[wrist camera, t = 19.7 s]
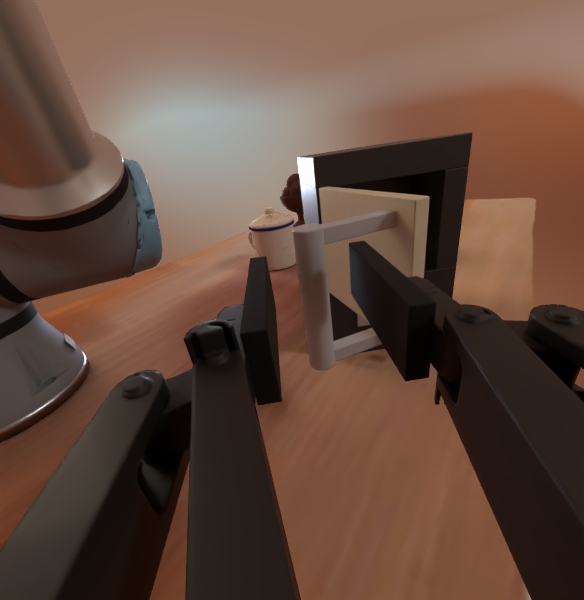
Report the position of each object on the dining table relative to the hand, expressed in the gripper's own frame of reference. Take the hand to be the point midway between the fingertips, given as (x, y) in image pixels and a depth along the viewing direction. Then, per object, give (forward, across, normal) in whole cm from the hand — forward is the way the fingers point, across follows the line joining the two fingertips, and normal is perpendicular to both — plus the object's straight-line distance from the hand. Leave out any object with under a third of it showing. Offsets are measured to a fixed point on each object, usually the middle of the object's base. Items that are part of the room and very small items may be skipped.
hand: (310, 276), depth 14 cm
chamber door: (+6, +2, -7) cm, 9 cm away
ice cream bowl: (+78, +7, -16) cm, 80 cm away
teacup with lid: (+47, -3, -15) cm, 49 cm away
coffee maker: (+19, +9, -15) cm, 26 cm away
